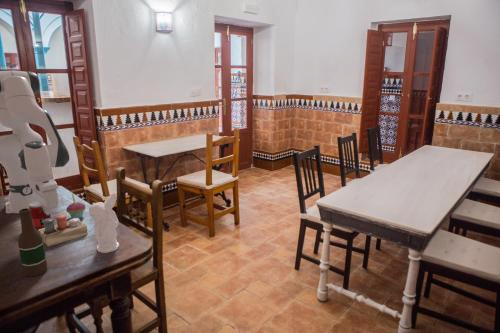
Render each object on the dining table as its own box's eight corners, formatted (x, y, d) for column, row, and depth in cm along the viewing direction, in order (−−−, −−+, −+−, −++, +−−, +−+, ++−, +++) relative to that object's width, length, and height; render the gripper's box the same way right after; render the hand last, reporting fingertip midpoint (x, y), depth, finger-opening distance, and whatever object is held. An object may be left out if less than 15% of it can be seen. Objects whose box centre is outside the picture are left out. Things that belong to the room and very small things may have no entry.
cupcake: (64, 217, 176) (61, 194, 173) (82, 211, 182) (79, 189, 179) (72, 222, 171) (68, 198, 167) (89, 216, 177) (86, 193, 173)
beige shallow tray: (39, 238, 155) (38, 229, 154) (78, 226, 166) (76, 218, 165) (48, 246, 148) (46, 238, 147) (87, 234, 159) (86, 225, 157)
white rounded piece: (69, 231, 160) (67, 220, 159) (78, 228, 163) (77, 217, 161) (72, 234, 157) (70, 223, 156) (82, 231, 160) (80, 220, 159)
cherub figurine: (100, 257, 140) (91, 204, 134) (86, 246, 148) (77, 196, 142) (128, 245, 149) (122, 195, 142) (113, 236, 157) (107, 188, 150)
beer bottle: (30, 266, 134) (18, 205, 127) (52, 265, 134) (41, 205, 128) (19, 278, 126) (6, 214, 120) (42, 276, 127) (30, 213, 120)
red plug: (56, 228, 156) (53, 216, 154) (66, 225, 159) (64, 214, 157) (59, 231, 153) (57, 219, 151) (69, 228, 156) (67, 216, 154)
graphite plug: (43, 232, 152) (41, 220, 151) (54, 229, 155) (51, 217, 154) (46, 235, 150) (44, 223, 148) (57, 232, 152) (55, 220, 151)
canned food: (43, 229, 163) (39, 206, 160) (28, 228, 165) (24, 205, 162) (55, 222, 170) (52, 200, 167) (41, 221, 172) (37, 199, 169)
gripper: (25, 178, 151) (31, 209, 155) (41, 189, 137) (47, 222, 141) (42, 175, 155) (47, 205, 159) (58, 185, 141) (64, 217, 145)
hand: (47, 213), depth 150 cm, fingers closed
